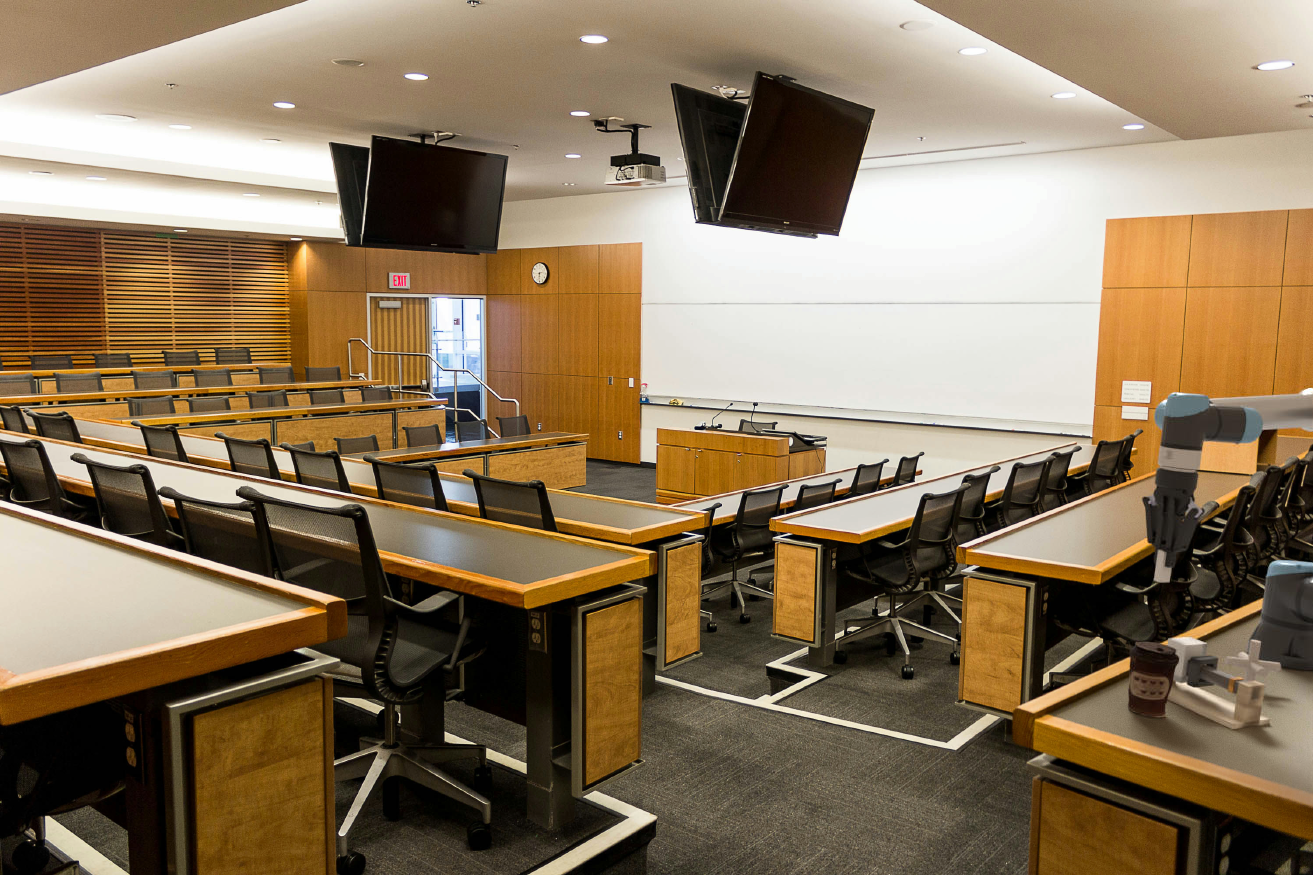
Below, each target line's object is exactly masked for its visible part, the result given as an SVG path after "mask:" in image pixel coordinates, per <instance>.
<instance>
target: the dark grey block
mask: <svg viewBox="0 0 1313 875" xmlns="http://www.w3.org/2000/svg"><path fill="white" fill-rule="evenodd" d="M1218 663H1219V657H1216V656H1213V655H1206V656H1199V657H1191V659H1190V666H1189V673H1188V680H1187V685H1189V686H1191V687H1194V688H1196V687H1197V688H1203V687H1212V686H1215V684H1213V683H1210V682H1208V681H1206V680H1203V679H1201V678H1199V675H1200V668H1201V665H1204V664H1205V665H1207V666H1209V667H1212V668H1214V669H1217V670H1218Z"/></svg>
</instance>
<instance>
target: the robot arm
mask: <svg viewBox="0 0 1313 875" xmlns="http://www.w3.org/2000/svg"><path fill="white" fill-rule="evenodd" d="M1154 422H1155V423H1154V424H1155V425H1156V426H1157V428H1159V430H1161V436H1160V437H1161V438H1160V444H1159V450H1158V459H1157V465H1158V466H1159V467H1157V468H1156V470H1155V477H1154V478H1155V479H1154V485H1156V487H1155V489H1154V490H1153V494H1151V495H1149V496H1143V497H1142V498H1141V499H1142V500H1141V501H1142V503H1143V506H1144V510H1145V524H1146V539H1147V544H1149V545H1150V544H1151V545H1152V546H1153V547H1154V549H1155V551H1154V557H1153V563H1154V564H1155V568H1154V569H1155V571H1154V578H1153V581H1155V582H1157V583H1170V580H1171V576H1172V568H1175V566H1176V561H1177V554H1178V552H1186V551H1187V550H1188V548H1189V545H1190V542H1191V541H1192V538H1193V535H1194V533H1195V530H1196V527H1197V525H1198V523H1199V520H1200V518H1201V517H1202V516H1203V515H1204V514H1205V512H1206V511H1205V508H1203V507H1199V506H1198V505H1197V504H1196V503H1195V502H1196V498H1195V495H1194V493H1195V491H1196V489H1197V488H1198V487H1197V486H1198V480H1199V476H1200V475H1199V473H1198V471H1197V470H1200V469H1201V468H1200V467H1201V461H1202V452H1203V447H1204V442H1214V443H1229V444H1235V445H1240V444H1251V443H1253V442H1255V441H1257V439H1259V437H1260V436H1261V434H1262V432H1263V431H1264V430H1266V431H1267V430H1280V429H1299V428H1300V429H1302V430H1304V431H1307V432H1313V388H1312V387H1311V388H1306V389H1303V390H1301V391H1300V392H1298V393H1292V394H1291V393H1289V394H1287V393H1286V394H1275V395H1274V394H1273V395H1270V394H1269V395H1255V396H1254V395H1252V396H1236V397H1234V396H1233V397H1217V398H1210V397H1209V396H1208V395H1205V394H1199V393H1185V392H1171V393H1170V394H1169V395H1168V396H1167V398H1166V399H1164V400H1162V401H1161V402H1160V403H1159V404H1158V405H1157V406H1156V408H1155V411H1154ZM1262 597H1263V598H1262V605H1261V612H1260V618H1259V622H1258V624H1257V625H1256V627H1255V629H1254V631H1253V632H1252V634H1251V635H1250V637H1249V639H1248V641H1247V646H1246V652H1247V653H1248V654H1249V649H1250V642H1251V640H1258V641H1260V642H1261V646H1260V652H1259V659H1258V660H1261V661H1269V662H1277V663H1280V664H1281V667H1283V668H1289V669H1293V670H1300V671H1301V670H1302V671H1310V670H1313V562H1308V561H1299V560H1274V561H1272V562H1271V563H1270V564H1269V566H1268V568H1267V574H1266V575H1265V582H1264V591H1263V596H1262Z"/></svg>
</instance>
